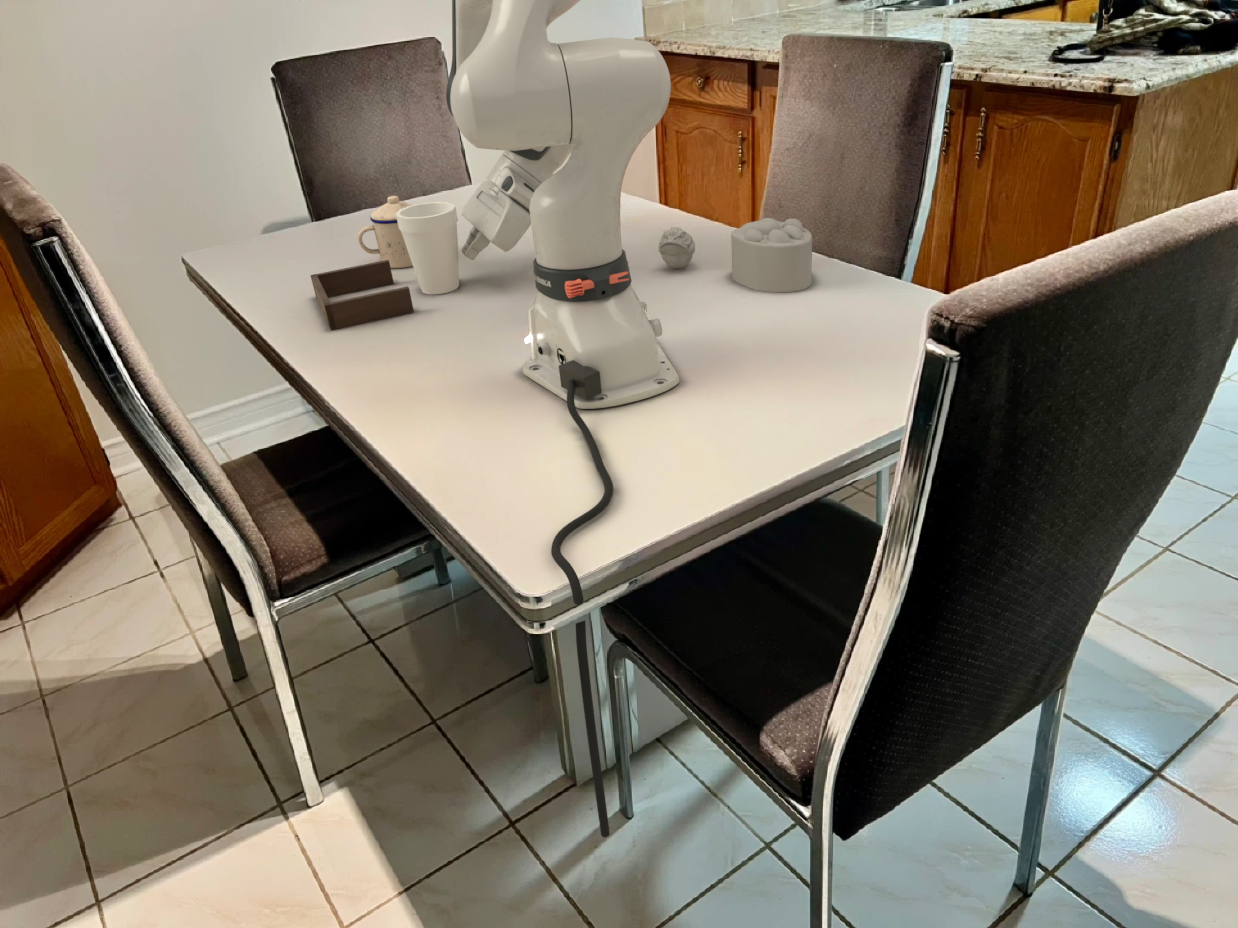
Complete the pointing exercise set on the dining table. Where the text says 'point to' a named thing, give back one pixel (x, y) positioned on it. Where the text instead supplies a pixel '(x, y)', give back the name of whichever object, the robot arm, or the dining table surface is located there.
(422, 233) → the foam cup
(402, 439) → the dining table surface
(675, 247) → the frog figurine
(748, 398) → the dining table surface
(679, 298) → the dining table surface
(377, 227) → the teacup with lid
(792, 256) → the lumpy-topped squat cylinder
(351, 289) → the bay
